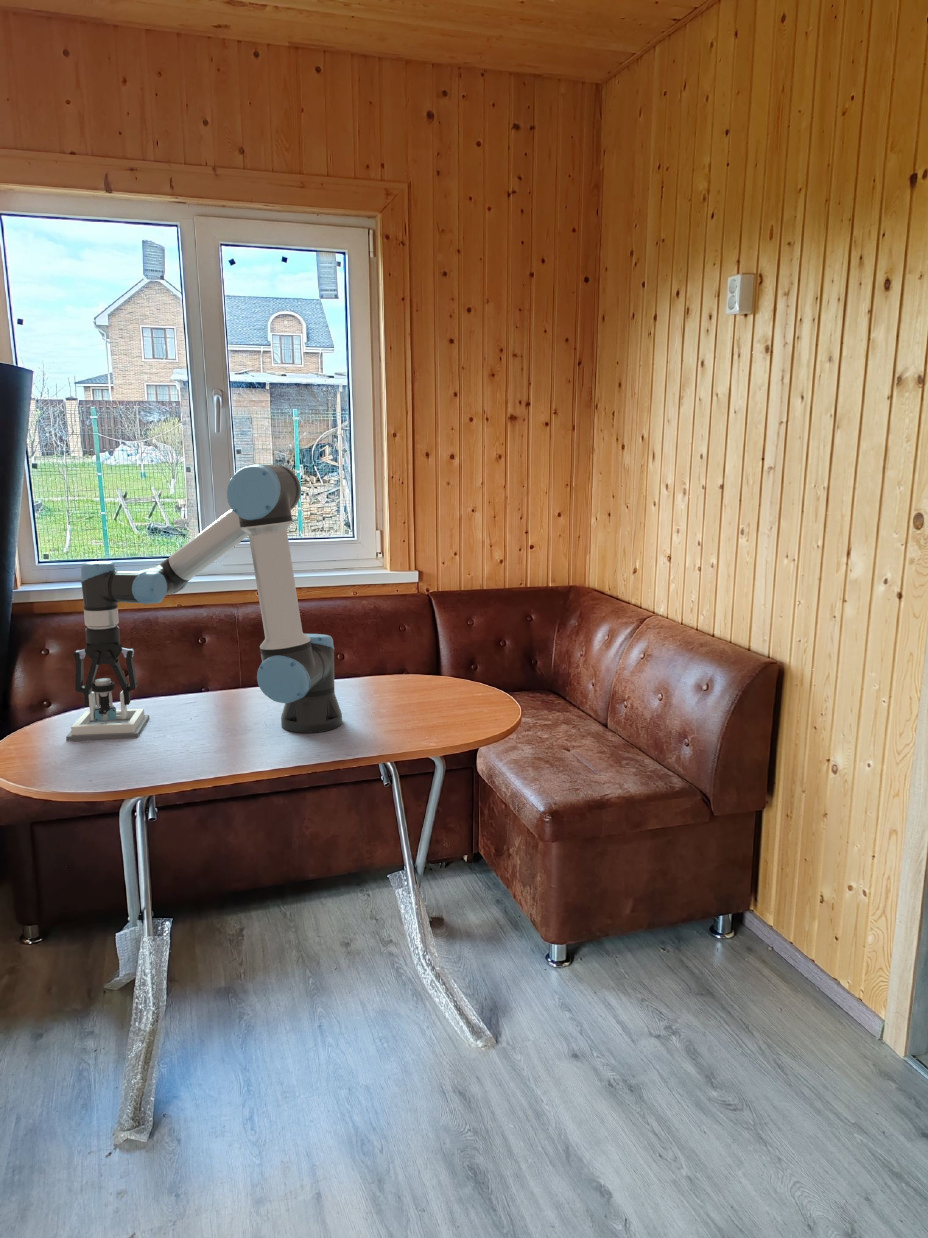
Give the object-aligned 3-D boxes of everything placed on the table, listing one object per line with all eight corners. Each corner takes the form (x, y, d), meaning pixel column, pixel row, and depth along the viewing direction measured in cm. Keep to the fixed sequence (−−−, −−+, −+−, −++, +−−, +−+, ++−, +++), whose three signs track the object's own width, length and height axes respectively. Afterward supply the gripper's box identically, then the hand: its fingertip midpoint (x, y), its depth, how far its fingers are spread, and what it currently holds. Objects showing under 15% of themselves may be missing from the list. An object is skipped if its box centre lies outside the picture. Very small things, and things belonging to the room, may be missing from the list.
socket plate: (149, 718, 216) (148, 707, 216) (137, 737, 202) (136, 725, 201) (83, 721, 214) (82, 709, 213) (66, 740, 199) (65, 728, 199)
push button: (124, 714, 211) (121, 675, 209) (122, 721, 206) (119, 681, 204) (95, 717, 209) (91, 678, 207) (93, 723, 204) (89, 683, 202)
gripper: (147, 621, 208) (153, 711, 212) (63, 624, 205) (71, 715, 209) (141, 627, 201) (147, 720, 205) (54, 630, 198) (62, 724, 202)
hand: (109, 717), depth 207 cm, fingers closed on push button, 6 cm apart
